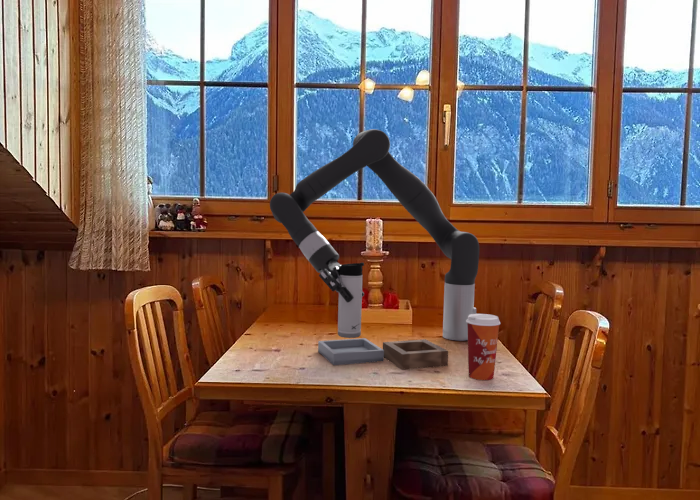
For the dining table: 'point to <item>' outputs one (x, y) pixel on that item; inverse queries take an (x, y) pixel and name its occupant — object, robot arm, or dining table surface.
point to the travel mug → (350, 310)
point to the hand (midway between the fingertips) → (356, 298)
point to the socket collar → (415, 354)
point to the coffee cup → (482, 345)
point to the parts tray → (350, 351)
